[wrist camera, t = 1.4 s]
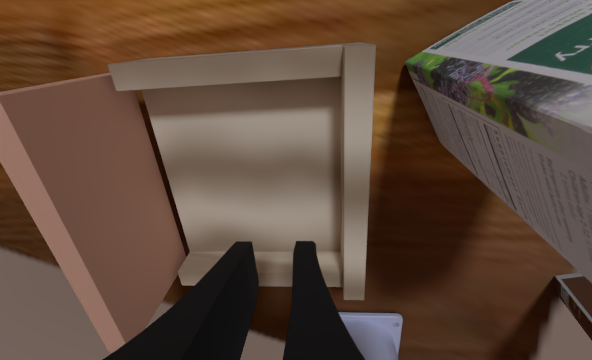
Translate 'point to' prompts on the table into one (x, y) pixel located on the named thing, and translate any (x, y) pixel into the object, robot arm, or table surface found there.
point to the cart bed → (266, 154)
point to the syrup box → (521, 113)
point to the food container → (577, 298)
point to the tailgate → (94, 196)
